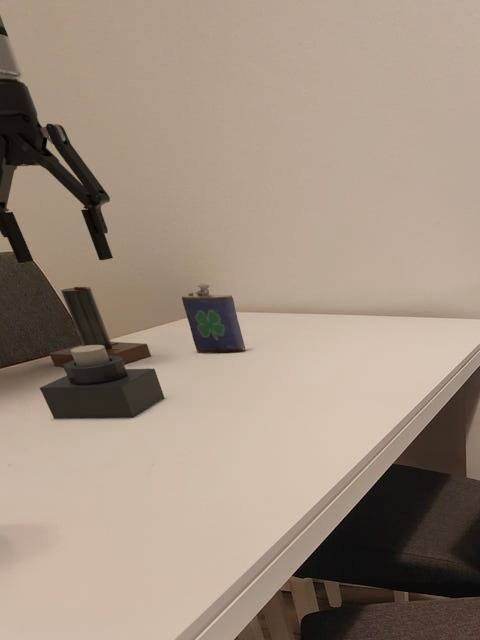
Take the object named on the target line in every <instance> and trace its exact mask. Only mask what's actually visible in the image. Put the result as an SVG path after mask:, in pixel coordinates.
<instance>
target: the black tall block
mask: <svg viewBox="0 0 480 640" xmlns="http://www.w3.org/2000/svg"><path fill="white" fill-rule="evenodd" d="M60 292H61V296H62V297H63V299H64V302H65V304H66V307H67V309H68V311H69V314H70V317H71V320H72V322H73V324H74V326H75V329H76V331H77V333H78V336H79V339H80V341H81V345H82V344H83V346H88V345H102V346H104V347H105V349H109V348H111V347H113V346H112V343H111V342H112V341H111V338H110V335H109V333H108V330H107V328H106V325H105V323H104V319H103V317H102V315H101V311H100V309H99V307H98V304H97V301H96V299H95V295H94V293H93V291H92V288H91V287H89V286H74V287H67V288H63V289H61V290H60Z"/></svg>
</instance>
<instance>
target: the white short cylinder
mask: <svg viewBox="0 0 480 640" xmlns="http://www.w3.org/2000/svg"><path fill="white" fill-rule="evenodd" d="M71 353H72V356H73V358H74V360H75V363H76V365H77V366H93V365H99V364H104V363H108V362H110V360H109V357H108V354H107V352H106V349H105V347H104V346H102V345H88V346H81V347H77V348H73V349H71Z"/></svg>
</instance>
